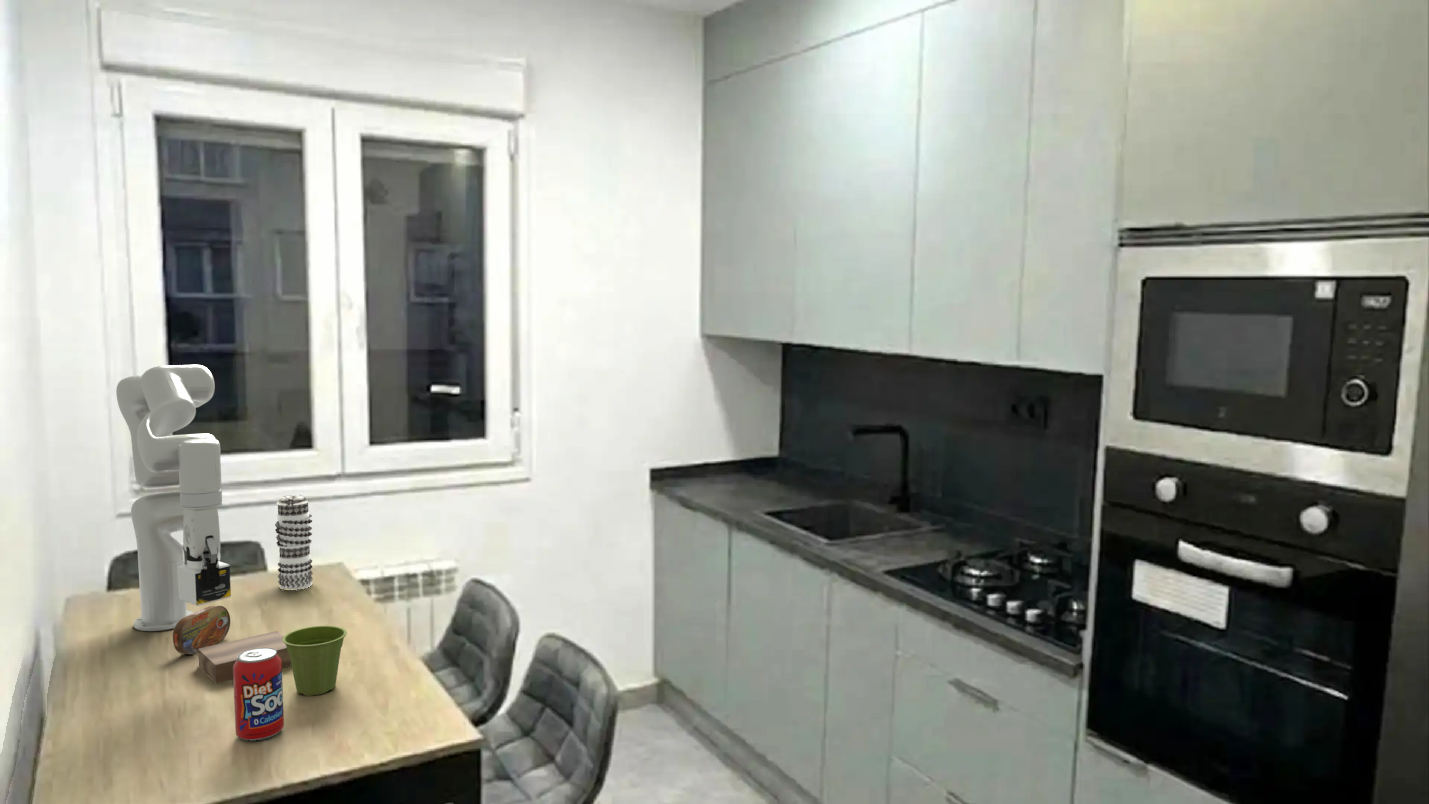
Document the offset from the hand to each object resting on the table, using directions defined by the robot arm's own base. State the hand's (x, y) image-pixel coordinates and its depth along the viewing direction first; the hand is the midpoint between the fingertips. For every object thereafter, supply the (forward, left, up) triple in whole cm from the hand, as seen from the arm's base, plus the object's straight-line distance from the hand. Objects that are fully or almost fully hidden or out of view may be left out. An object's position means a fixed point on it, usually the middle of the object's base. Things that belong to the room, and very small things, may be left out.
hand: (204, 581), depth 191 cm
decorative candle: (-49, +35, -20) cm, 64 cm away
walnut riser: (+1, +7, -20) cm, 21 cm away
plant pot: (+23, +13, -20) cm, 33 cm away
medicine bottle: (0, 0, -4) cm, 4 cm away
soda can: (+36, -2, -20) cm, 41 cm away
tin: (-17, +3, -20) cm, 27 cm away
